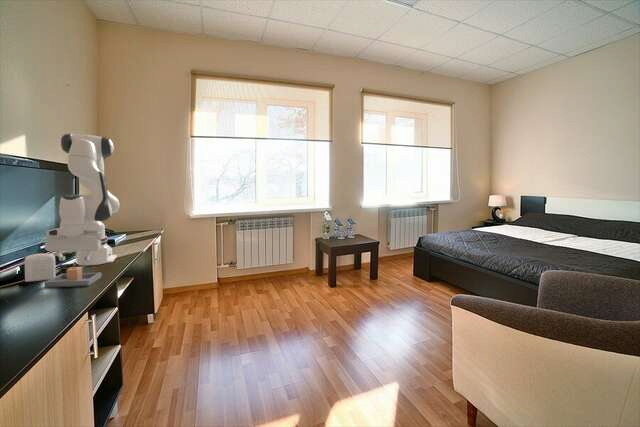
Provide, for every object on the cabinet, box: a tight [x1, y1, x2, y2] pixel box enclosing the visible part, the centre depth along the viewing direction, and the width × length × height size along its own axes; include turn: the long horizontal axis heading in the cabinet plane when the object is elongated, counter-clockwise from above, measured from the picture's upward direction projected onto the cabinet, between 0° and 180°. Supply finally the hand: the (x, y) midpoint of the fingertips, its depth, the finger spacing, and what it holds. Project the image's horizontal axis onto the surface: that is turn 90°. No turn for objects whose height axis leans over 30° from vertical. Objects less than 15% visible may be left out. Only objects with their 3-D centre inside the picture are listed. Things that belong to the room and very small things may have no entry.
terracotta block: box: [66, 266, 83, 281], centre depth 129 cm, size 4×4×6 cm
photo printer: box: [24, 253, 57, 283], centre depth 131 cm, size 10×4×12 cm, turn 124°
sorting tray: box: [44, 272, 102, 289], centre depth 130 cm, size 12×16×2 cm
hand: (74, 260), depth 129 cm, fingers open, 8 cm apart
